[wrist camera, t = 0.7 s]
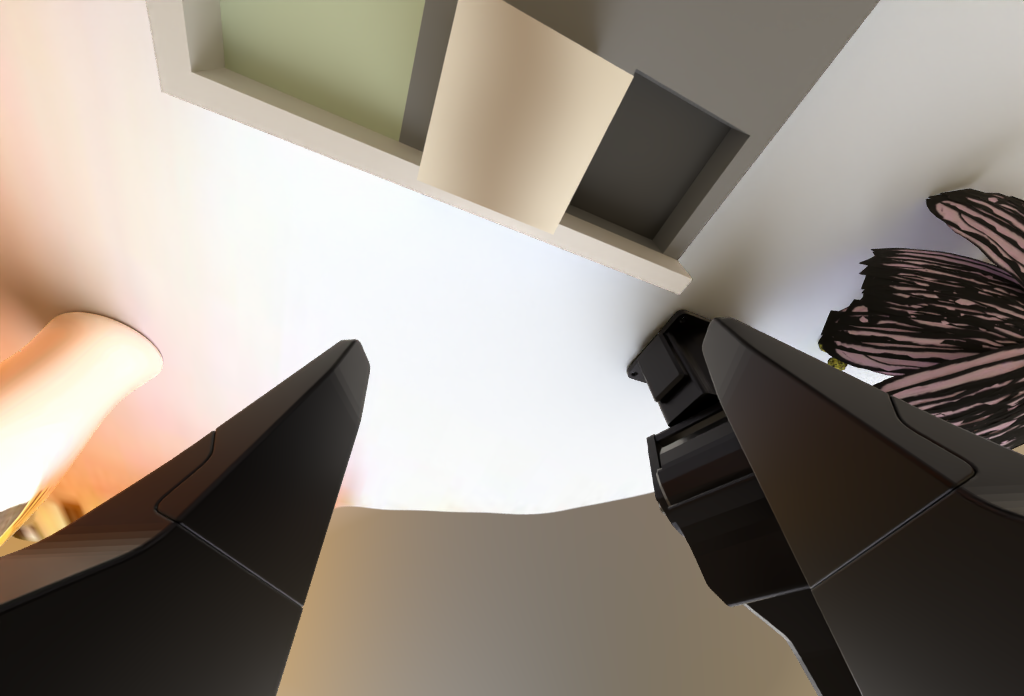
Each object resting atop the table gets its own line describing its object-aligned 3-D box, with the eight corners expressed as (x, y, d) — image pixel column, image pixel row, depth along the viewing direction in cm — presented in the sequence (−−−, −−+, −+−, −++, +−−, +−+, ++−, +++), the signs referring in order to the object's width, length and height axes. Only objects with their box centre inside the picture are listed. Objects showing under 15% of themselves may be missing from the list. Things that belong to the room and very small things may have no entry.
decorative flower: (1300, 391, 16) (989, 570, 18) (968, 326, 27) (796, 443, 29) (1301, 94, 12) (896, 370, 14) (908, 160, 23) (712, 309, 25)
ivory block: (596, 64, 14) (633, 76, 10) (540, 190, 17) (553, 234, 13) (473, -6, 12) (463, -23, 9) (436, 144, 15) (416, 179, 12)
